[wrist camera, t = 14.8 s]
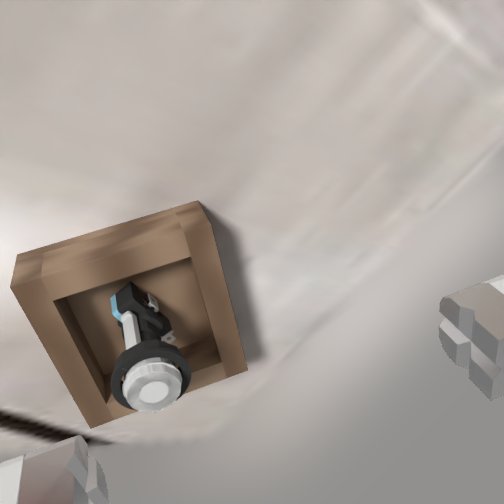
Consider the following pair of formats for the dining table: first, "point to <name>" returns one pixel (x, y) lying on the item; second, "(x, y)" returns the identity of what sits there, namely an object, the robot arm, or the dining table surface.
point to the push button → (146, 355)
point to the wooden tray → (148, 281)
